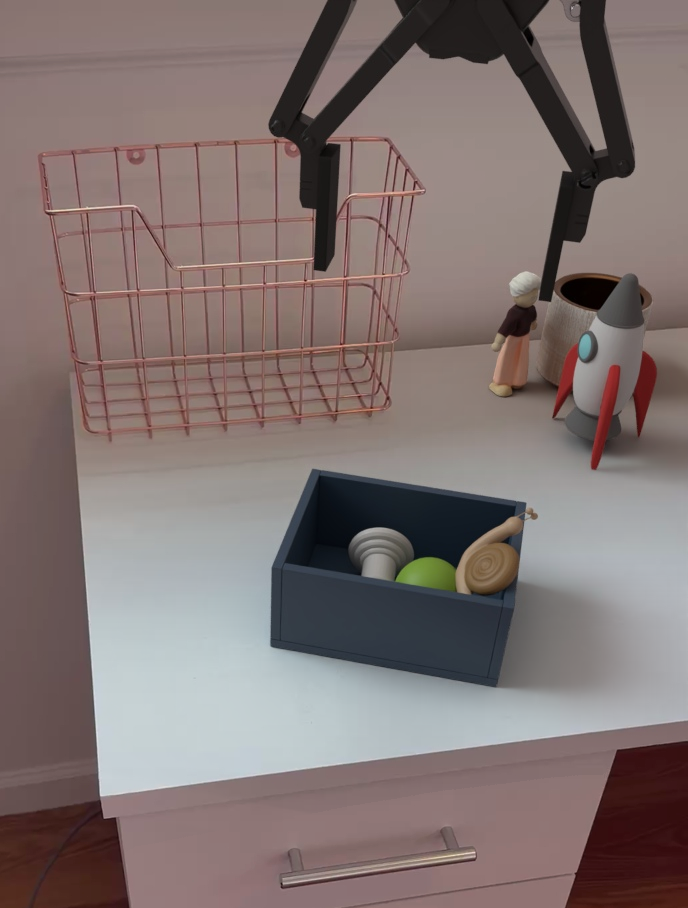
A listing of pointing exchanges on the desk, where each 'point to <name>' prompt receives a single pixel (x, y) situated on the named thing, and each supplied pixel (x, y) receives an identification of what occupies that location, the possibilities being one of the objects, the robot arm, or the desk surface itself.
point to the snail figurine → (472, 564)
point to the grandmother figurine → (516, 335)
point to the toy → (608, 370)
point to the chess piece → (380, 553)
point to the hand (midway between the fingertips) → (433, 277)
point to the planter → (576, 317)
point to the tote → (388, 602)
